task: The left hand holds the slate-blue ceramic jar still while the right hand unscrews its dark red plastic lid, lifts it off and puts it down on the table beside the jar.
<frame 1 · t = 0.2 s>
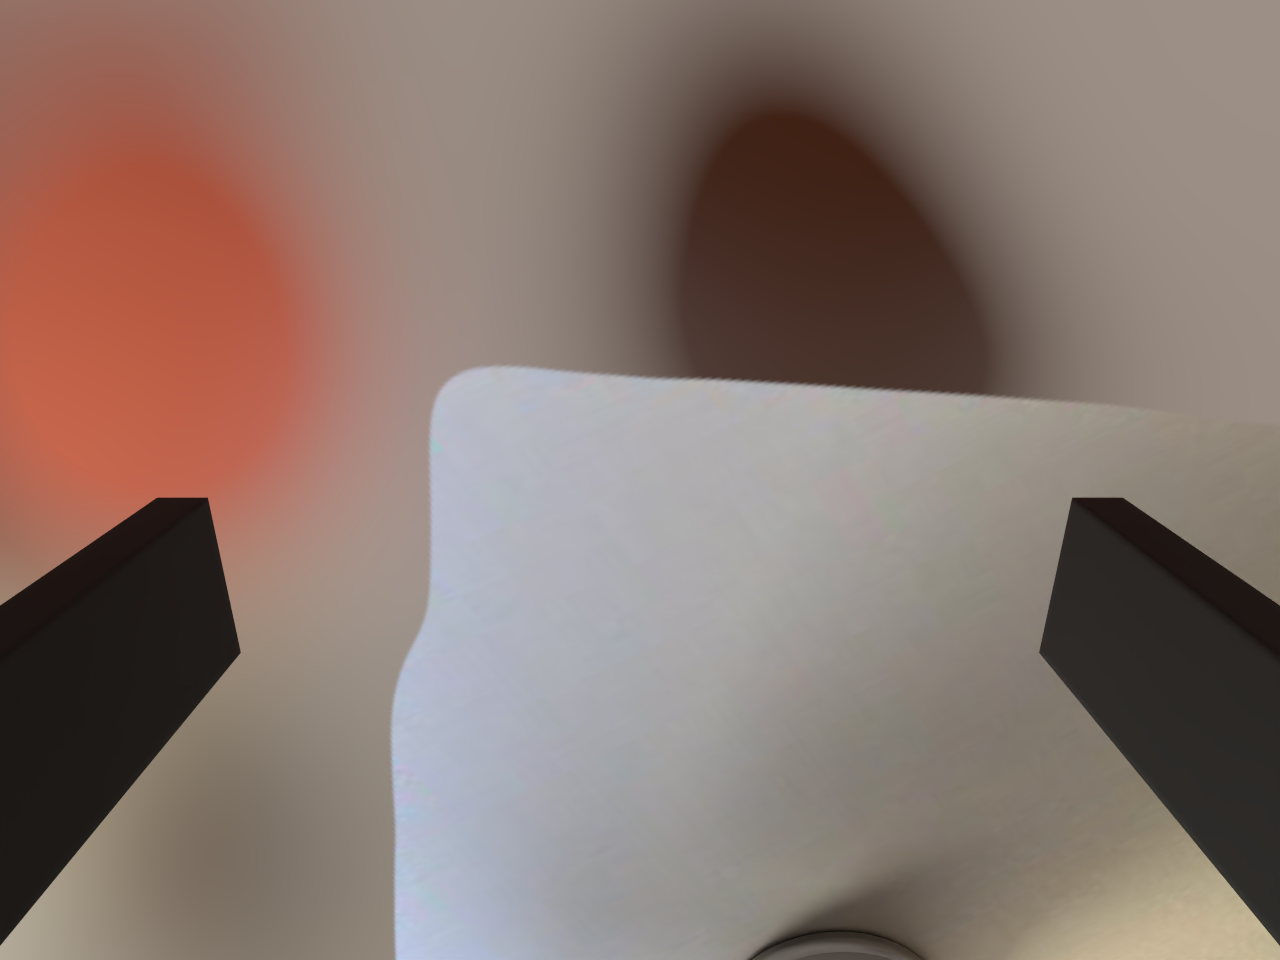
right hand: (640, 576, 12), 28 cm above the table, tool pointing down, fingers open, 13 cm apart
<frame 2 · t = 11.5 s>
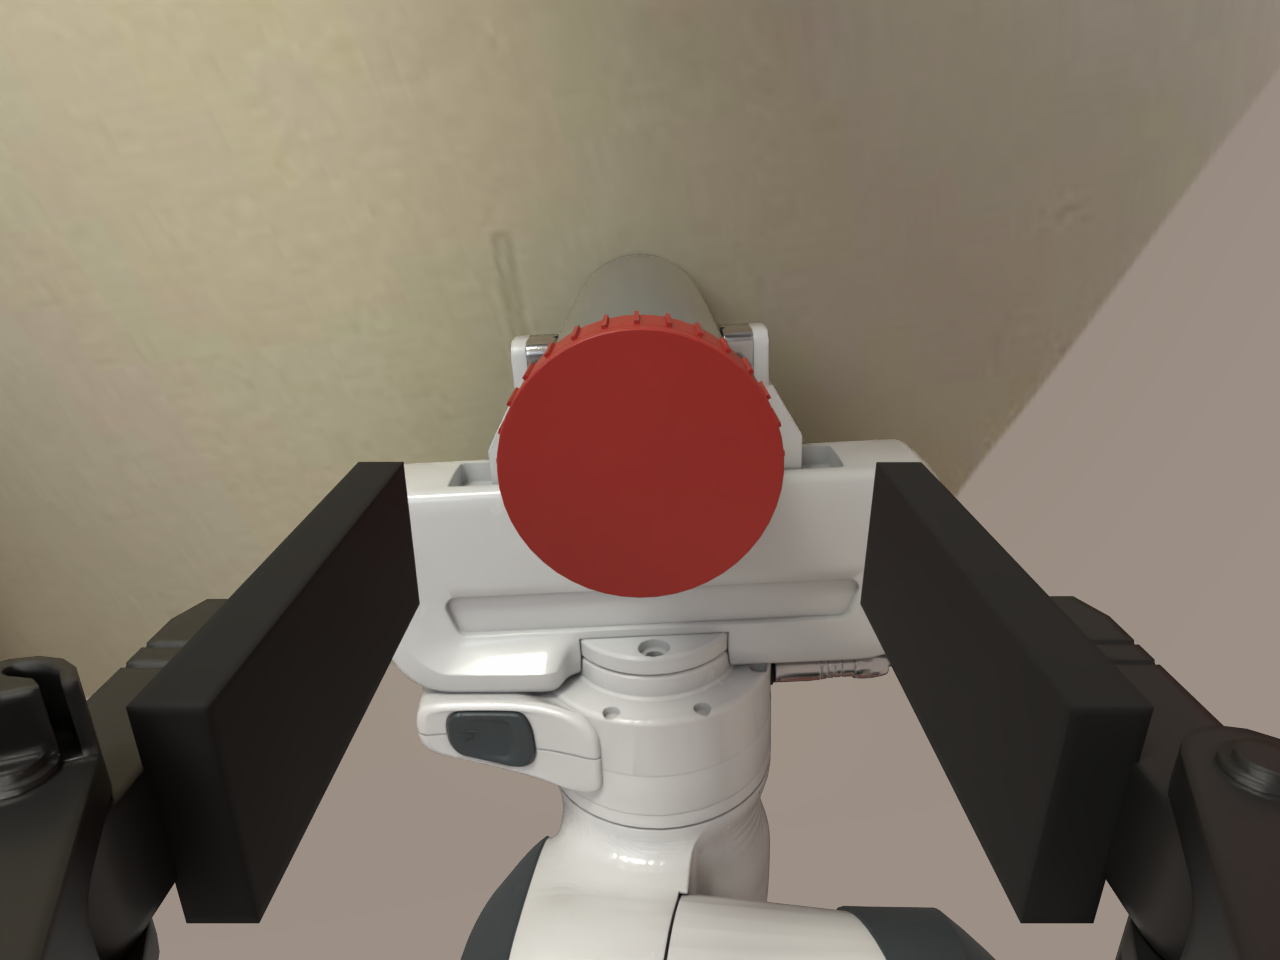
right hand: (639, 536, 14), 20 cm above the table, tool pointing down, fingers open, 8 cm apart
left hand: (637, 331, 26), fingers closed on jar, 5 cm apart
jar: (640, 324, 32), on the table, touching left hand
lid: (640, 466, 17), point 16 cm above the table, screwed on, not yet turned
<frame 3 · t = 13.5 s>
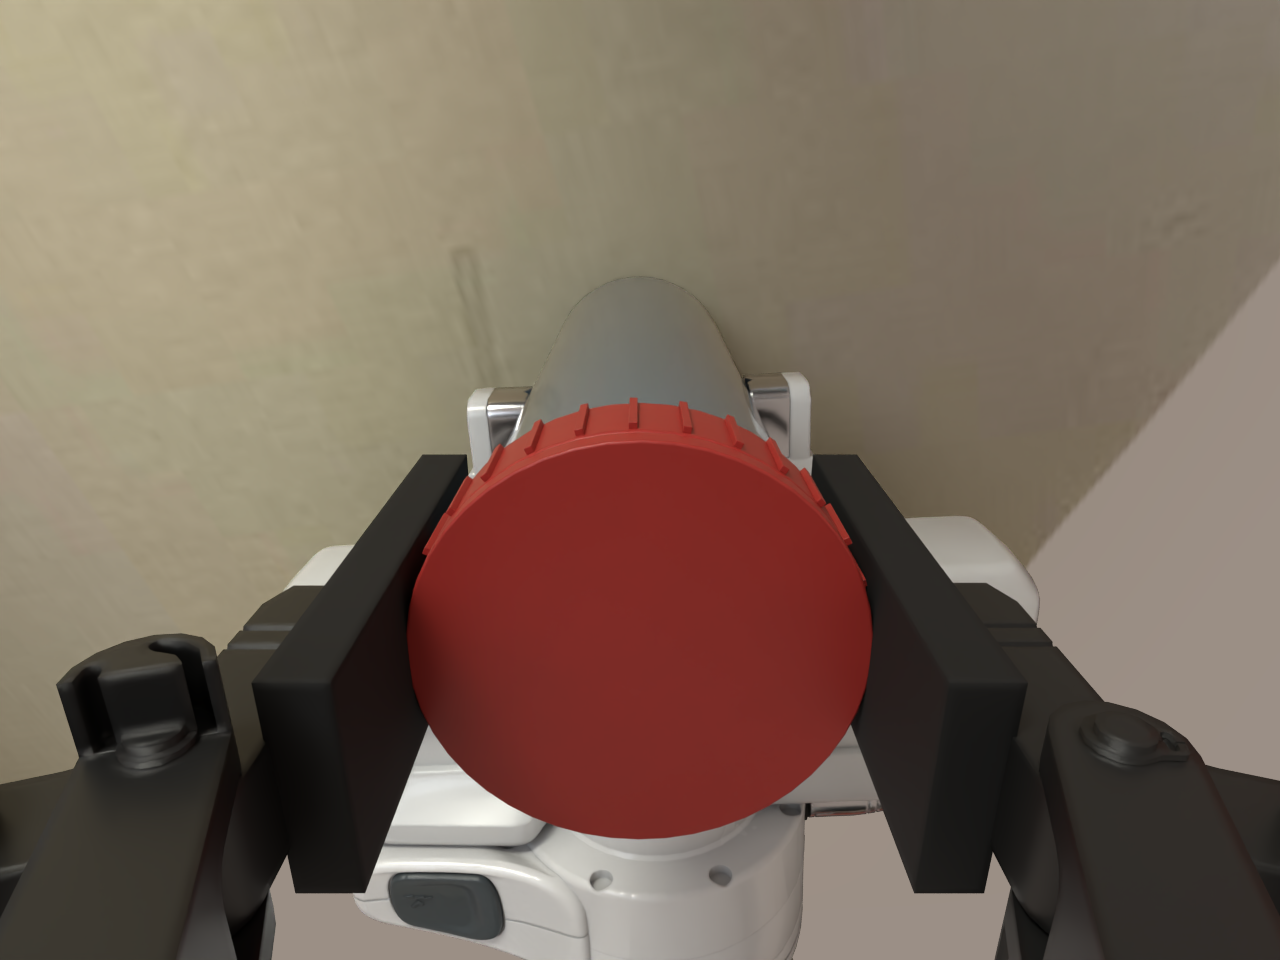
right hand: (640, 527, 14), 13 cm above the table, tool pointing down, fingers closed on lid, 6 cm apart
jar: (639, 362, 26), on the table, touching left hand
lid: (639, 646, 11), point 16 cm above the table, screwed on, not yet turned, touching right hand
when the right hand's fingers open (0 cm above the table, at t = 33.6 s): lid drops 2 cm, point 1 cm above the table.
when the left hand's fingers open (6 cm above the table, at t = 34.3 s): jar stays where it is, on the table.
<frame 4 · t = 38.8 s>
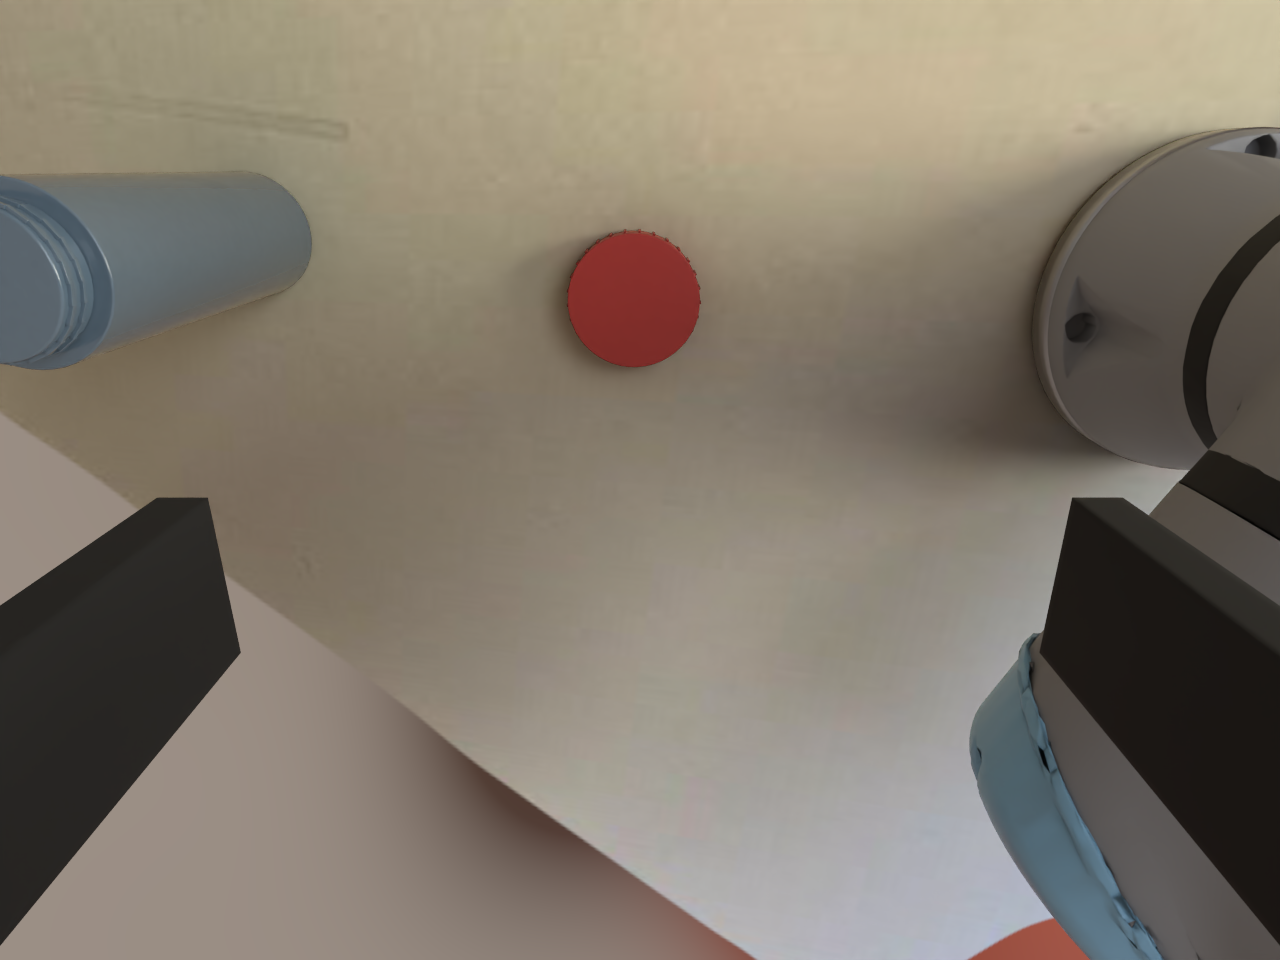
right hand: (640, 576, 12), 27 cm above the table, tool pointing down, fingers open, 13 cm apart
jar: (252, 234, 37), on the table
lid: (633, 301, 37), point 1 cm above the table, off its thread
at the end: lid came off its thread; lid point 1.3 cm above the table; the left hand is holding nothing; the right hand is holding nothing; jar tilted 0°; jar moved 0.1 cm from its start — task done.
